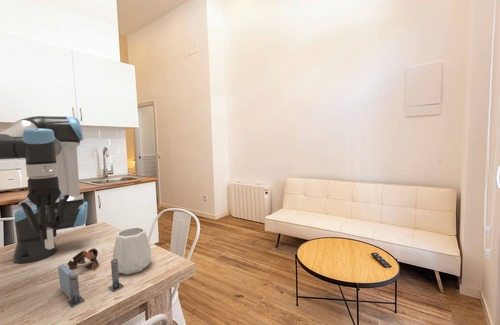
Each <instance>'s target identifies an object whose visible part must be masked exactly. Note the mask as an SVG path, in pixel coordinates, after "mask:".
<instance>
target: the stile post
mask: <svg viewBox="0 0 500 325" xmlns="http://www.w3.org/2000/svg"><path fill="white" fill-rule="evenodd" d="M110 266H111V270H110V271H111V282H112V285H110V286H108V290H110V291H111V292H113V293H114V292H116V291H118V290H120V289H122V288H124V286H125V285H123V284H122V283H121V282H120V279H119V278H120V277H119V275H120V274H119V273H118V261H117V259H113V258H112V259H111V260H110Z"/></svg>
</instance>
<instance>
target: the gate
mask: <svg viewBox="0 0 500 325" xmlns="http://www.w3.org/2000/svg"><path fill="white" fill-rule="evenodd" d="M57 269H58V280H59V288H60V289H61V291H63V292H64V294H66V295H67V297H68V298H69V299H70V300H72V293H71V283H70V279H73V278H76V277H78V278H79V275H78V273H77V272H76V271H74V270H70V269H69V266H66V264H65V263H64V264H59V265H58V266H57Z"/></svg>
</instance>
